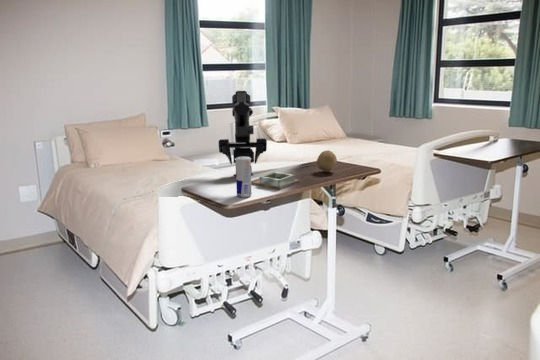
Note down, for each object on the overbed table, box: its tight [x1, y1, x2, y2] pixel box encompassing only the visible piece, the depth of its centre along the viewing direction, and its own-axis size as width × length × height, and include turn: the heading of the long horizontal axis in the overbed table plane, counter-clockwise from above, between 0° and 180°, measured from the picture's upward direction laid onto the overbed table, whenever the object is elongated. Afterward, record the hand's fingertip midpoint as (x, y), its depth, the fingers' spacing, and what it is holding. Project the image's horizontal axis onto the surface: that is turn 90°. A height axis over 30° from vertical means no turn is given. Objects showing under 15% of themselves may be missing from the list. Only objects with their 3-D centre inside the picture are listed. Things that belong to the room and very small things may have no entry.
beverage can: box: [235, 156, 252, 199], centre depth 182 cm, size 6×6×15 cm
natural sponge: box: [315, 149, 338, 173], centre depth 219 cm, size 9×9×10 cm
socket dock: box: [251, 171, 300, 190], centre depth 202 cm, size 16×14×4 cm
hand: (243, 163), depth 186 cm, fingers open, 9 cm apart
